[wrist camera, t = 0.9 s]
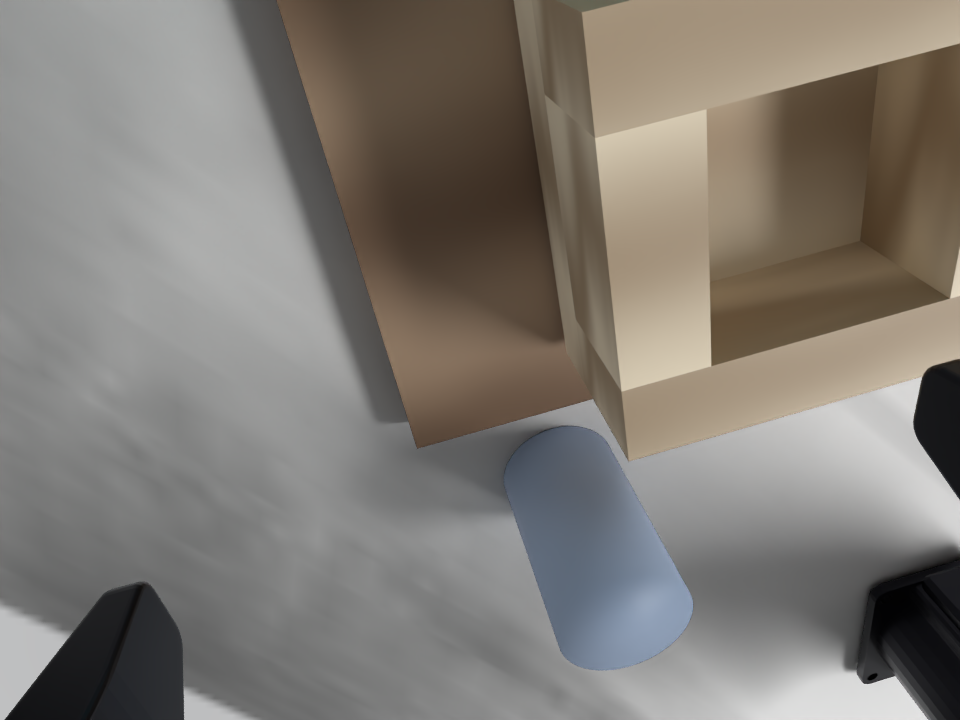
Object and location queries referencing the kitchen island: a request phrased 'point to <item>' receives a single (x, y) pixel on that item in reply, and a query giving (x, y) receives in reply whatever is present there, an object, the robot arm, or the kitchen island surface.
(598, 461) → the light blue cylinder
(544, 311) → the board
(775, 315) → the open box
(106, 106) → the kitchen island surface
